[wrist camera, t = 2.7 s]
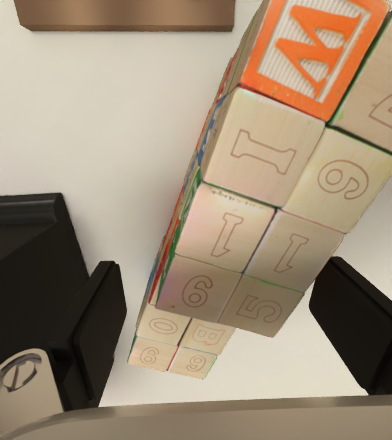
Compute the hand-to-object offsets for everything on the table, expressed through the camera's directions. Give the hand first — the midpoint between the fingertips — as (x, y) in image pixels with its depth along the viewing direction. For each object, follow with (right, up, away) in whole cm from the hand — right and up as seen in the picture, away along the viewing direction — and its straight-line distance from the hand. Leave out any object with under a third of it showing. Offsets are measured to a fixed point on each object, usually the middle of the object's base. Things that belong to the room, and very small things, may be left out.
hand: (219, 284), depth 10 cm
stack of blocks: (0, +5, +11) cm, 12 cm away
